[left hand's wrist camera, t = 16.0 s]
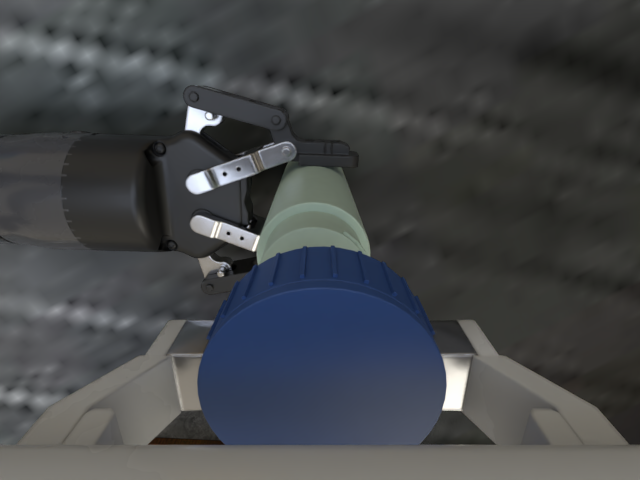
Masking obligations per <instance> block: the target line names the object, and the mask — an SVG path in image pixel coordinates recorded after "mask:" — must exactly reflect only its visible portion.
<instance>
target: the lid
mask: <svg viewBox="0 0 640 480" xmlns="http://www.w3.org/2000/svg"><path fill="white" fill-rule="evenodd" d="M434 334H435V332H434V330H433V328H432V325H431V323H430V321H429V319H428V317H427V315H426V313H425V311H424V309H423V307H422V305H421V303H420V300H419V298H418V296H415V297H414V295H413V294H412V292H411V290H410V289H409V287H408V285H407V282H406V280H405V279H404V277H402V278H400V277H399V276H398V275H397V274H396V273H395V272H394V271H392V270H391V269H390V268H389V267H387V265H386V263H385V262H382V263H381V262H380V261H378V260H376V259H374V258H372V257H370V256H368V255H365V254H362V252H361V251H358V252H356V251H353V250H348V249H343V248H338V247H335V246H332V245H331V247H326V246H322V247H307V246H303V248H300V249H295V250H291V251H288V252H284V253H281V254H280V252H279V253H277V254H276V256H274V257H272V258H269V259H268V260H266V261H264V262H263V263H261V264H259V265H254V266H253V268H252V270H251V271H250V272H249V273H247V274H246V275H245V276H244V277H243V278H242V279H241V280H240V282H239V281H236V282H235V284H234V286H233V289H232V291H231V293H230V295H229V297H228V300H227V301H226V300H224V301H223V303H222V306H221V308H220V310H219V312H218V314H217V316H216V318H215V321H214V323H213V325H212V327H211V329H210V331H209V333H208V336H207V338H206V339H208V340H209V342H208V344H207V346H206V349H205V351H204V353H203V355H202V359H201V362H200V365H199V370H198V378H197V388H198V397H199V402H200V406H201V409H202V411H203V414H204V416H205V419H206V420H207V422H208V424H209V426H210V427H211V429H212V430H213V432H214V433H215V434H216V435H217V437H218V438H219V439H220V440H221V441H222V442H223V443H224V444H225V445H419V444H420V443H421V442H422V441H423V440H424V439H425V437H426V436H427V435H428V434H429V433H430V431H431V430H432V428H433V427H434V425H435V424H436V422H437V420H438V418H439V416H440V414H441V411H442V408H443V405H444V401H445V396H446V388H447V380H446V370H445V366H444V361H443V358H442V356H441V353H440V351H439V349H438V346H437V344H436V342H435V340H434V338H433V335H434Z"/></svg>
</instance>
